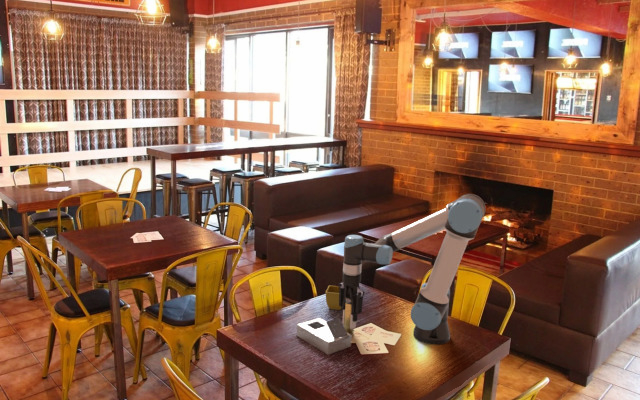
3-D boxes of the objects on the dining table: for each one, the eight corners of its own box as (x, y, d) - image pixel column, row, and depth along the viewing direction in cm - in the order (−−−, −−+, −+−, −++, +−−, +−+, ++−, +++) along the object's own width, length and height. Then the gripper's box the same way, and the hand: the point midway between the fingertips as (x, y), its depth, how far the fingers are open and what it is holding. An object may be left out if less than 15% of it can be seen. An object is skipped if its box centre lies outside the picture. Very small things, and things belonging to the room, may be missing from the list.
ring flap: (325, 322, 222) (327, 321, 222) (338, 318, 227) (340, 317, 226) (334, 343, 219) (336, 341, 218) (348, 338, 223) (349, 337, 223)
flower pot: (343, 312, 259) (344, 293, 258) (324, 310, 261) (325, 291, 259) (346, 305, 268) (347, 287, 266) (328, 303, 270) (328, 285, 268)
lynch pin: (355, 334, 238) (357, 298, 234) (348, 336, 235) (350, 300, 232) (348, 330, 241) (350, 295, 237) (341, 333, 238) (343, 297, 235)
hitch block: (296, 335, 234) (297, 324, 233) (319, 328, 242) (319, 317, 241) (328, 354, 219) (328, 342, 218) (350, 346, 227) (351, 334, 226)
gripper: (373, 276, 228) (369, 331, 233) (344, 265, 241) (342, 316, 246) (359, 280, 223) (356, 335, 228) (331, 268, 236) (329, 321, 241)
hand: (349, 325), depth 237 cm, fingers closed on lynch pin, 4 cm apart
